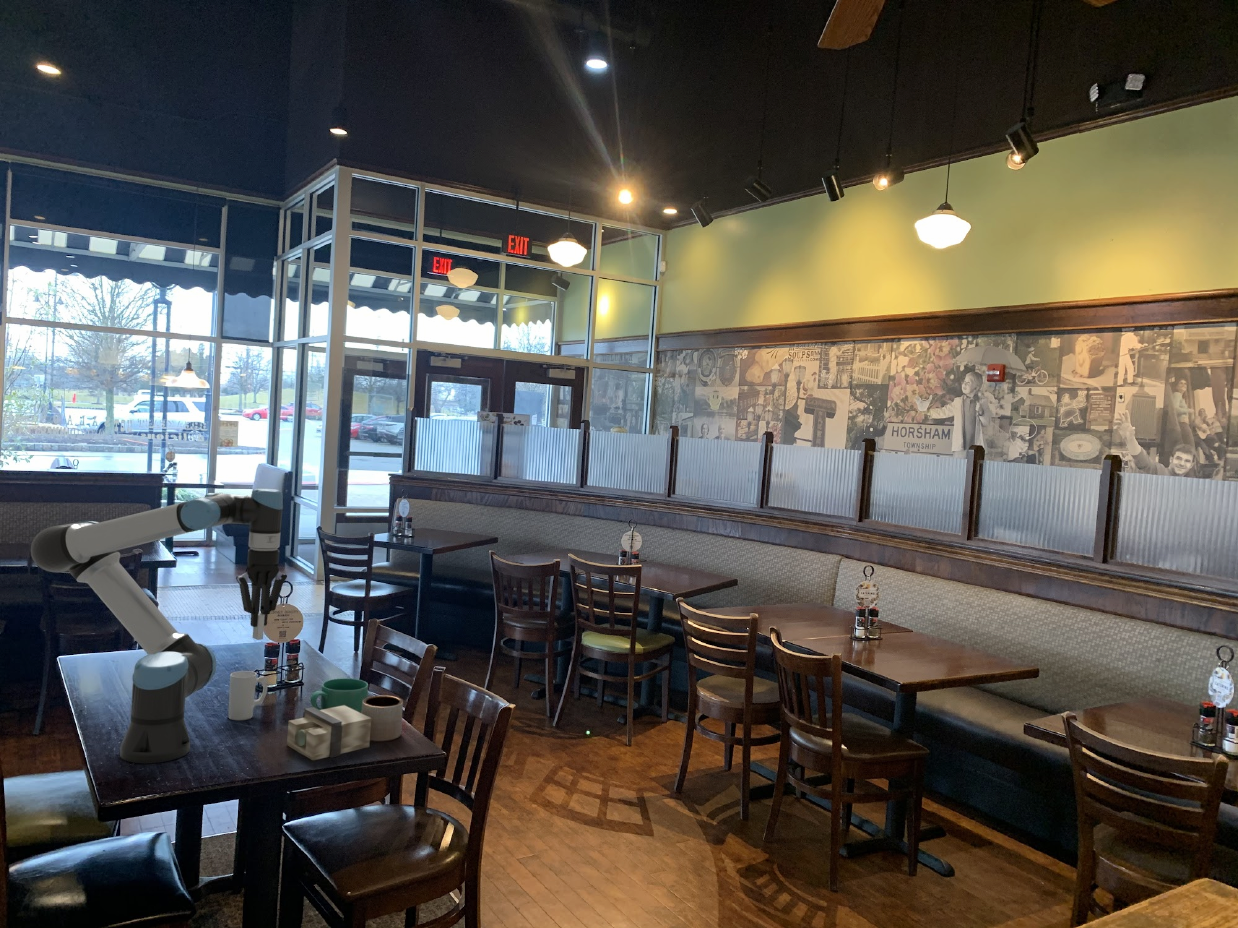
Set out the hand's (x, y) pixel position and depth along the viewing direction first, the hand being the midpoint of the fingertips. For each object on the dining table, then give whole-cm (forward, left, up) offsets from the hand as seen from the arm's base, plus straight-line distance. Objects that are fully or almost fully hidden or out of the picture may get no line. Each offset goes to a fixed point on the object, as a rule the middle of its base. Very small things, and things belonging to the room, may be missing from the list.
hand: (257, 638), depth 226 cm
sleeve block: (+13, -16, -26) cm, 34 cm away
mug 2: (+26, +2, -27) cm, 37 cm away
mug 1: (+7, +17, -27) cm, 32 cm away
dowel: (+12, -16, -25) cm, 32 cm away
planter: (+28, -17, -27) cm, 42 cm away
